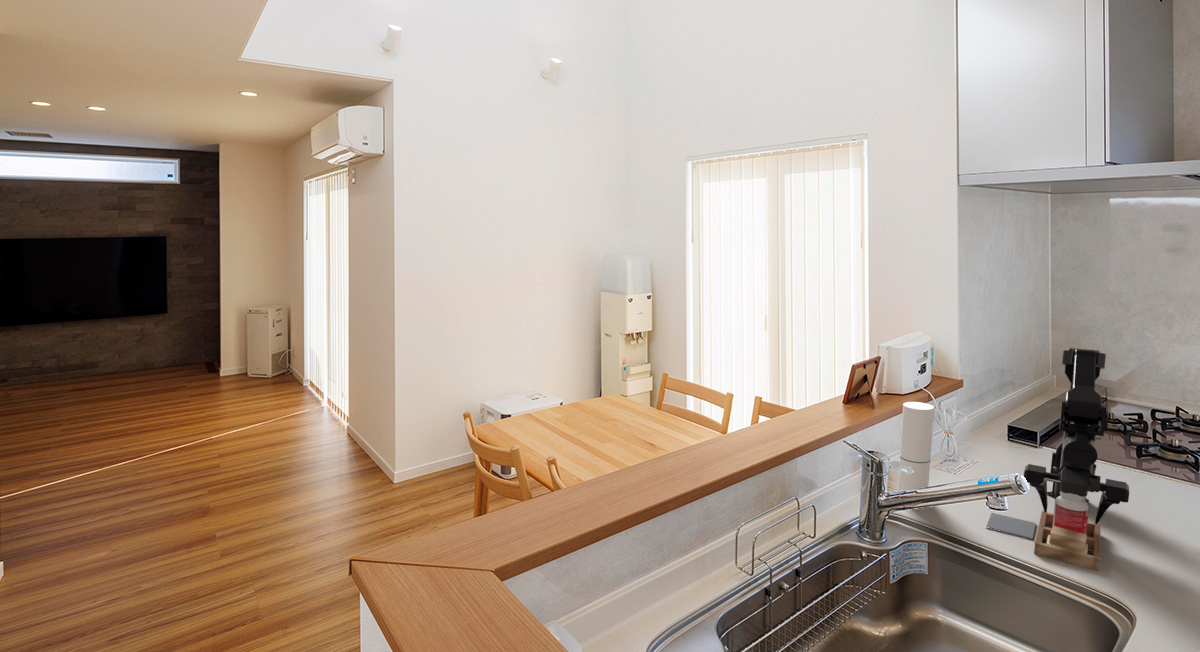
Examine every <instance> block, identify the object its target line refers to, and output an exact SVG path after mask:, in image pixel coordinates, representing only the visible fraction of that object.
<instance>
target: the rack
mask: <svg viewBox="0 0 1200 652" xmlns="http://www.w3.org/2000/svg"><path fill="white" fill-rule="evenodd" d="M1053 517H1054V512H1053V513H1052V512H1048V511H1047V513H1046V512H1044V510H1042V511H1041V514H1040V518H1039V519H1040V520H1039V523H1038V524H1039V525H1038V528H1037V532H1036V537H1035V542H1034V551H1033V554H1034V555H1037V554H1038V556H1041V555H1042V557H1045V556H1046V557H1045V558H1048V557H1049V559H1052V558H1054V559H1053V560H1056V559H1058V560H1057V561H1060V560H1061V562H1064V561H1065V562H1064V563H1067V562H1069V563H1068V564H1072V565H1075V566H1079V567H1083V568H1087V569H1091V570H1093V571H1098V572H1099V571H1100V565H1101V564H1100V563H1101V534H1102V533H1101V527H1102V525H1101V523H1098V524H1095V522H1092V521H1088V522H1087V530H1086V534H1087V535H1088V534H1089V535H1091V536H1093V537H1090V536H1087V539H1086V544H1088V549H1087V551H1091V552H1092V554H1088V553H1087V554H1084V553H1080V552H1076V551H1072V550H1068V549H1064V548H1060V547H1056V546H1052V545H1048V544H1047V543H1044V542H1043V539H1044V540H1047V538H1048V535H1050V532H1051V530H1052V527H1048V526H1047V525H1051V526H1053ZM1046 524H1047V525H1046Z"/></svg>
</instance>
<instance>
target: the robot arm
mask: <svg viewBox="0 0 1200 652" xmlns="http://www.w3.org/2000/svg"><path fill="white" fill-rule="evenodd" d="M1106 356H1107V354H1106V353H1103V352H1100V350H1097V349H1087V348H1084V349H1083V348H1076V347H1075V348H1073V347H1069V348H1068V350H1064V349H1063V351H1062V357H1061V366H1064V374H1065V375H1066V377H1067V379H1068V381H1069V382H1070V386H1069V390H1068V391H1067V392H1066V393H1065V394H1066V395H1065V400H1062V401H1061V406H1060V416H1059V417H1060V419H1059V430H1060V431H1063V437H1062V440H1061V441H1059V442H1058V443H1057V445H1056V448H1055V452H1051V453H1052V454H1051V460H1050V461H1051V462H1050V471H1049V472H1048V471H1047V467H1046V466H1041V465H1036V464H1032V463H1028V464H1027V465H1025V468H1024V471H1023V476H1024V477H1025V478H1026V480H1027V482H1028V484H1029V486H1030V487H1033V488H1035V489H1036V491H1037V494H1038V496H1039V498H1040V501H1041V506H1042V508H1043V511H1044V512H1046V513H1047V512H1048V505H1049V504H1048V503H1049V502H1048V496H1050V497H1053V498H1054V499H1056V498H1057V497H1059V496H1061V495H1060V491H1061V492H1063V493H1071V494H1075V495H1078V496H1082V497H1085V496H1086V497H1087V496H1088V492H1090V493H1099V492H1101V496H1100V499H1099V503H1098V506H1097V510H1096V513H1095V517H1094V518H1095V521H1094V523H1095V524H1099V522H1100V521H1101V520H1102V518H1103V516H1104V515H1105V513H1106V511H1107V510H1108V509H1109V508H1110V507H1111V506H1112V505H1120V503H1129V497H1130V486H1129V484H1128V483H1127V482H1125V481H1120V480H1115V479H1110V478H1106V479H1105V482H1101V476H1100V475H1096V470H1097V465H1096V462H1097V460H1098V449H1097V444H1096V441H1097V436H1099V437H1104V435H1105V432H1108V428H1109V427H1108V426H1109V425H1108V424H1109V411H1107V407H1106V406H1105V405H1103V404H1102V401H1103V400H1102V395H1101V394H1100V393H1098V392H1097V391H1096V380H1098V378H1099V377H1100V375H1101V370H1104V369H1106V368H1105V366H1106V359H1107V358H1106ZM1064 422H1065V423H1064ZM1027 482H1026V483H1027ZM1048 482H1052V491H1048V486H1047V485H1048ZM1084 501H1086V502H1087V503H1089V502H1090V500H1089V499H1088V498H1086V499H1085V500H1084Z"/></svg>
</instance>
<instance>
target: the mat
mask: <svg viewBox="0 0 1200 652" xmlns="http://www.w3.org/2000/svg"><path fill="white" fill-rule="evenodd" d="M1036 524H1037V523H1036V522H1033V521H1028V520H1025V519H1020V518H1015V517H1013V516H1007V515H1004V514H999V513H994V512H991V513H990V516H989V518H988V521H987V523H986V526H985V528H986V527H989V528H992V529H996V530H1000V531H1003V532H1007V533H1010V534H1009V535H1011V534H1014V535H1013V536H1015V535H1017V536H1016V537H1019V536H1020V538H1023V537H1025V538H1024V539H1027V538H1028V539H1027V540H1031V539H1032V540H1033V539H1034V534H1035V530H1036V526H1037V525H1036ZM1003 532H1002V533H1003ZM1007 533H1006V534H1007Z"/></svg>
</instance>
